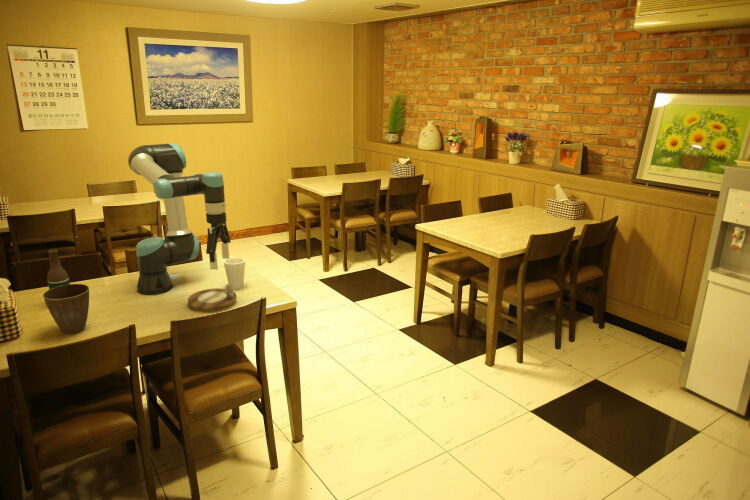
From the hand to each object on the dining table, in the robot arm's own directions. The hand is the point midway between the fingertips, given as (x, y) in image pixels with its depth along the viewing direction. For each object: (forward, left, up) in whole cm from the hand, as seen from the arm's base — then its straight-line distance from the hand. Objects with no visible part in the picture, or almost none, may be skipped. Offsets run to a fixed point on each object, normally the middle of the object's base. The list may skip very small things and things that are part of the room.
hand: (220, 263), depth 207 cm
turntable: (-8, +7, -20) cm, 23 cm away
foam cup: (-4, +26, -21) cm, 34 cm away
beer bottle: (-71, 0, -21) cm, 74 cm away
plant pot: (-51, -23, -21) cm, 59 cm away
